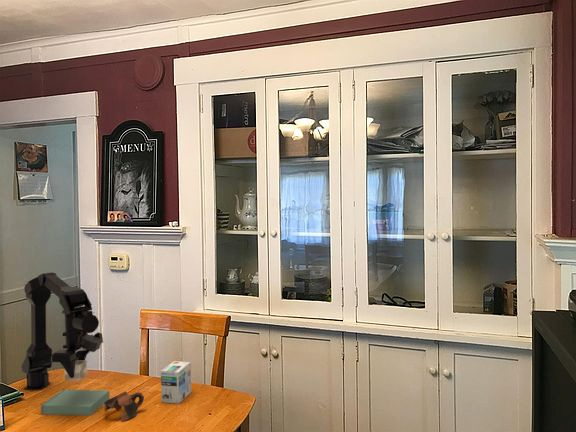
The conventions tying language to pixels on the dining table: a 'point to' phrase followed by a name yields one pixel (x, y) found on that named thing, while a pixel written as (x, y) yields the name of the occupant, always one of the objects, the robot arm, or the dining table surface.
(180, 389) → the light bulb box
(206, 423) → the dining table surface
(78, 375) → the wooden cube
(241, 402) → the dining table surface
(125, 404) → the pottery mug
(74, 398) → the green book
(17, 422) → the dining table surface
